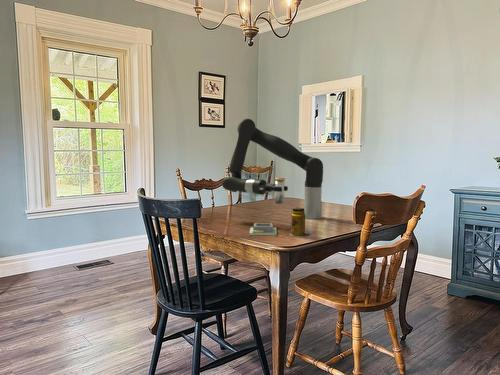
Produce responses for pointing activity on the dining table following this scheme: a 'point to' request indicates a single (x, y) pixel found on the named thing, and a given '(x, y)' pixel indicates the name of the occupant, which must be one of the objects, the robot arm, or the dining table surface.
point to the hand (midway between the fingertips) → (284, 189)
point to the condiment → (298, 223)
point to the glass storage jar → (279, 195)
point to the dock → (263, 229)
